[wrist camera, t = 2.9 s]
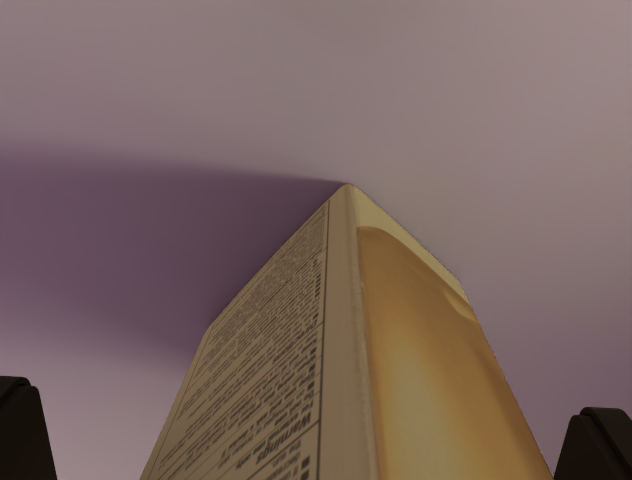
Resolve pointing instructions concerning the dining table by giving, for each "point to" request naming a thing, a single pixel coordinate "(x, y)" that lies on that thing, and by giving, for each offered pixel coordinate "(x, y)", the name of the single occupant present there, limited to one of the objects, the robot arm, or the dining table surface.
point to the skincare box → (347, 369)
